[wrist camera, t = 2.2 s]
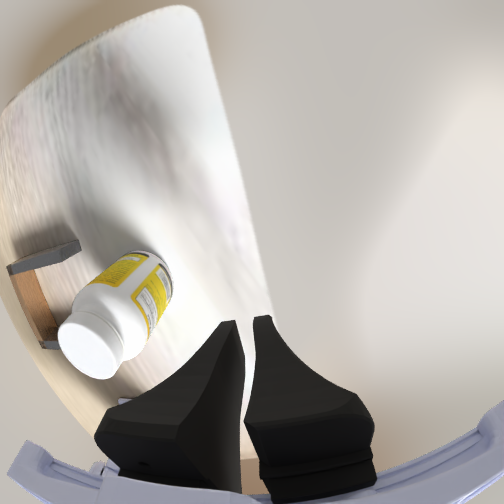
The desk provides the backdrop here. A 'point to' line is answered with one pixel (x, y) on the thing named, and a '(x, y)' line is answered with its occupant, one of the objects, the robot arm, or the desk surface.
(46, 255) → the bracket
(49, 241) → the desk surface
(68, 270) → the desk surface
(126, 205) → the desk surface
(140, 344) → the supplement bottle
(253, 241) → the desk surface
